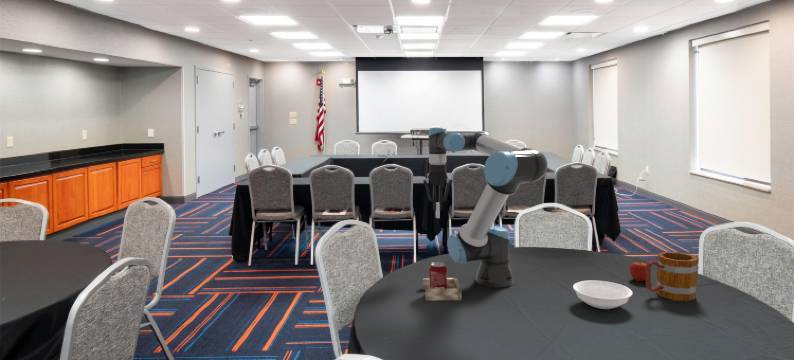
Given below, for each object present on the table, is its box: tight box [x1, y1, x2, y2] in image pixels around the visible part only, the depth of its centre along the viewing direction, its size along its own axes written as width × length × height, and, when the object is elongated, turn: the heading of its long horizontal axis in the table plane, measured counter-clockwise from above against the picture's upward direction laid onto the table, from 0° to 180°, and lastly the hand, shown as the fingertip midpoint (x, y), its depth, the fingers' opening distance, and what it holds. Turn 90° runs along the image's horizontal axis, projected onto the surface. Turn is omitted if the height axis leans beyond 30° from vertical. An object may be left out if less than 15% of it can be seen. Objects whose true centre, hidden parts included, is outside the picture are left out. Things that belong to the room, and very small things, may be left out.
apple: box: [629, 261, 652, 282], centre depth 210 cm, size 8×8×8 cm
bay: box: [422, 277, 463, 302], centre depth 197 cm, size 14×14×4 cm
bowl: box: [572, 279, 633, 310], centre depth 183 cm, size 20×20×6 cm
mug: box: [645, 251, 699, 302], centre depth 192 cm, size 20×14×15 cm
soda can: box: [428, 261, 448, 289], centre depth 196 cm, size 7×7×12 cm
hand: (437, 217), depth 222 cm, fingers closed
